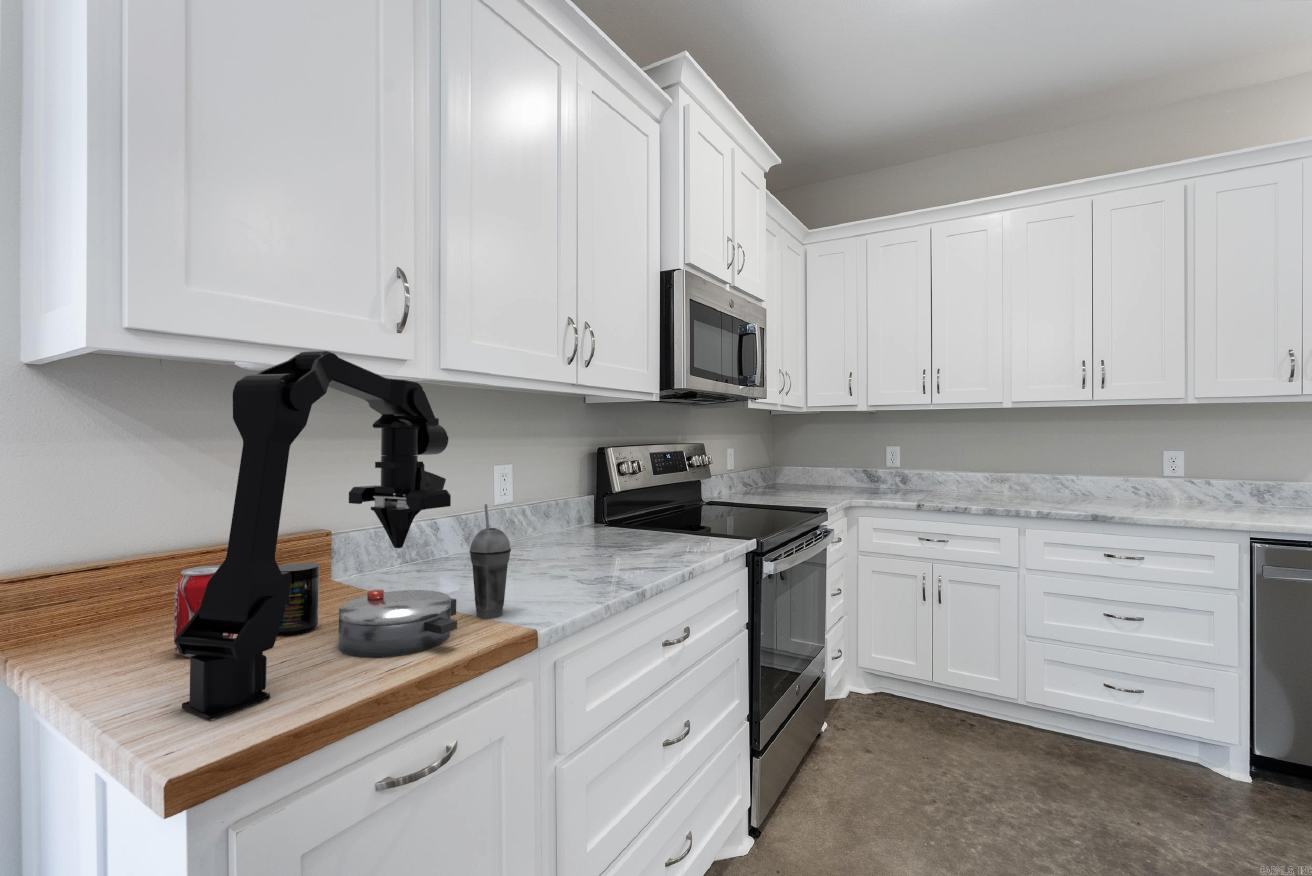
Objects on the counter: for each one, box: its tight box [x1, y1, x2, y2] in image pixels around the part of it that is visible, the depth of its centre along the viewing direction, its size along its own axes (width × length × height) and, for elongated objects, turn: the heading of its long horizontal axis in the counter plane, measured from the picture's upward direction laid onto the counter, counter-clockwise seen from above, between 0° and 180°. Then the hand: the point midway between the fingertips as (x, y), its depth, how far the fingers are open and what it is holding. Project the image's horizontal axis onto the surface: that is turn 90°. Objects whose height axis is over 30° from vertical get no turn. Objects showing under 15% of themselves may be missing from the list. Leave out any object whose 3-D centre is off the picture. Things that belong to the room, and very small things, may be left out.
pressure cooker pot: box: [338, 597, 458, 659], centre depth 93 cm, size 18×23×4 cm
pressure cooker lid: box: [338, 589, 452, 625], centre depth 92 cm, size 16×16×2 cm
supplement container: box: [277, 562, 321, 637], centre depth 96 cm, size 7×7×10 cm
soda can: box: [173, 564, 235, 658], centre depth 86 cm, size 7×7×12 cm
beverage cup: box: [469, 503, 512, 620], centre depth 106 cm, size 7×7×20 cm
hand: (398, 547), depth 99 cm, fingers closed
